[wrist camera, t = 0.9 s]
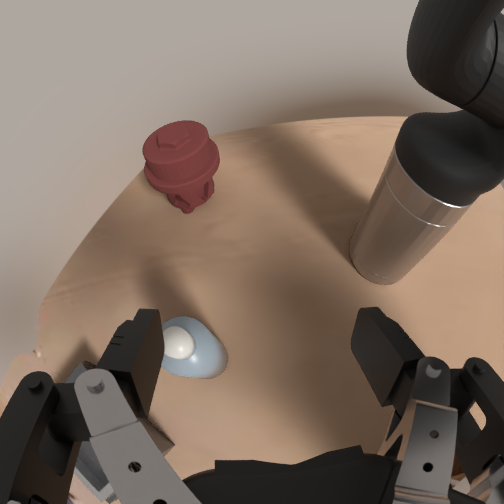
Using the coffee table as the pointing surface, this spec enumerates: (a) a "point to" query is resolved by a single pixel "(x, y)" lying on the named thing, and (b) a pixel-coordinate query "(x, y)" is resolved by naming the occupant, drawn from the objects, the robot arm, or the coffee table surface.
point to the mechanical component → (182, 163)
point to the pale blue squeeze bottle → (192, 349)
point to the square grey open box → (88, 461)
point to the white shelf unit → (459, 478)
